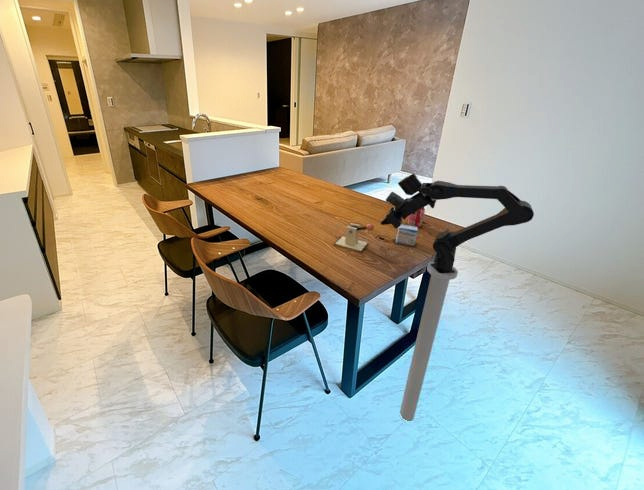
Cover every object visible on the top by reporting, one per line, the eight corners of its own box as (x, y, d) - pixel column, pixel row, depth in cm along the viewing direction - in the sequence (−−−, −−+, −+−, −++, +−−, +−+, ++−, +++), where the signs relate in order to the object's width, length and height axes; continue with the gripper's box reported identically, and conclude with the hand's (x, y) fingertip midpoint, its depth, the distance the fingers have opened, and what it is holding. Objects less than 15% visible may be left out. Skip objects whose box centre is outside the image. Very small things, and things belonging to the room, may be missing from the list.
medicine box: (395, 244, 136) (398, 227, 132) (395, 239, 140) (399, 223, 136) (414, 247, 133) (418, 230, 130) (414, 242, 137) (417, 226, 133)
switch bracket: (367, 244, 136) (369, 225, 132) (361, 253, 129) (363, 232, 125) (342, 238, 142) (344, 219, 138) (335, 245, 135) (336, 226, 132)
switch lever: (375, 228, 128) (374, 222, 128) (373, 231, 126) (371, 224, 125) (352, 231, 135) (350, 225, 134) (349, 234, 132) (347, 227, 132)
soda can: (420, 224, 156) (425, 203, 151) (421, 230, 150) (426, 208, 145) (405, 222, 158) (410, 201, 153) (406, 228, 152) (411, 207, 147)
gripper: (406, 181, 123) (375, 201, 132) (395, 193, 108) (362, 215, 118) (423, 203, 122) (391, 222, 131) (414, 218, 107) (379, 237, 117)
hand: (381, 223), depth 124 cm, fingers closed
